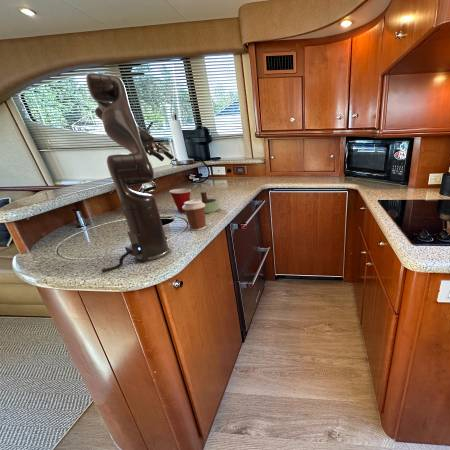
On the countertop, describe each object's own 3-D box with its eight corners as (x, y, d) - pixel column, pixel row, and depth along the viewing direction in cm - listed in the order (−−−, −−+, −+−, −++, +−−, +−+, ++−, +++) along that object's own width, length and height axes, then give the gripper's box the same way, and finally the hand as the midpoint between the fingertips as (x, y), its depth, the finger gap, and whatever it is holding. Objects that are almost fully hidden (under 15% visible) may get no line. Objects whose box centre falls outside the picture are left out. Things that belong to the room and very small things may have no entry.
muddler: (206, 211, 128) (202, 193, 125) (201, 210, 130) (197, 192, 127) (212, 209, 131) (208, 191, 128) (207, 208, 133) (204, 191, 130)
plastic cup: (189, 213, 128) (185, 191, 124) (170, 214, 129) (164, 192, 125) (198, 207, 138) (194, 187, 134) (180, 208, 139) (175, 188, 135)
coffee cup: (198, 223, 110) (193, 198, 106) (213, 225, 107) (208, 199, 103) (182, 230, 103) (176, 203, 99) (198, 232, 99) (192, 205, 95)
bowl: (204, 215, 123) (202, 205, 121) (190, 212, 129) (187, 203, 127) (223, 209, 133) (222, 199, 131) (209, 206, 139) (207, 197, 137)
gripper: (133, 129, 108) (163, 154, 111) (152, 130, 121) (179, 152, 124) (125, 142, 110) (155, 166, 113) (145, 142, 123) (172, 163, 126)
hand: (168, 159), depth 119 cm, fingers open, 8 cm apart
